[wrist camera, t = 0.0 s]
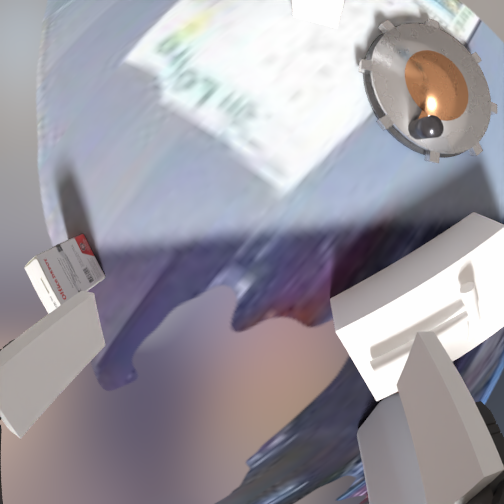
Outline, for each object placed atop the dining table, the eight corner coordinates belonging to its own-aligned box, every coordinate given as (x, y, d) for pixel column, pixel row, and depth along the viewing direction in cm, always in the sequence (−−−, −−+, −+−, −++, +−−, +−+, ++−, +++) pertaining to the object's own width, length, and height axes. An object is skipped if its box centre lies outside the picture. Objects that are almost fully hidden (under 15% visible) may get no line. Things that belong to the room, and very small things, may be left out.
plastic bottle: (349, 435, 48) (353, 556, 22) (386, 386, 43) (415, 528, 16) (407, 440, 47) (426, 544, 20) (446, 394, 42) (488, 508, 15)
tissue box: (492, 289, 35) (527, 320, 25) (367, 364, 42) (379, 412, 32) (472, 211, 32) (516, 230, 22) (329, 297, 40) (337, 342, 29)
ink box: (68, 243, 44) (21, 265, 33) (84, 232, 43) (34, 254, 32) (90, 286, 46) (47, 316, 35) (107, 278, 45) (62, 309, 34)
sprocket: (393, 0, 24) (407, -23, 17) (501, 84, 24) (527, 77, 18) (336, 102, 30) (345, 89, 24) (458, 188, 31) (485, 196, 24)
